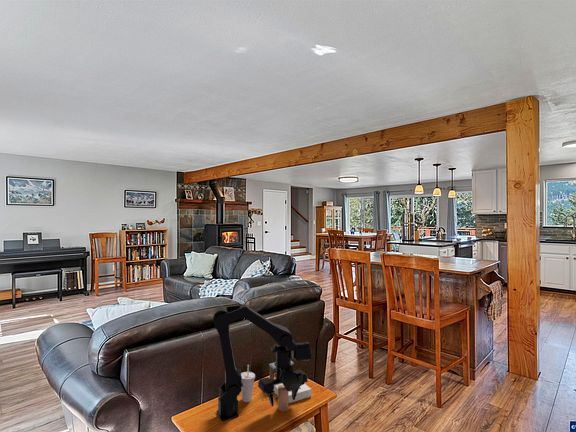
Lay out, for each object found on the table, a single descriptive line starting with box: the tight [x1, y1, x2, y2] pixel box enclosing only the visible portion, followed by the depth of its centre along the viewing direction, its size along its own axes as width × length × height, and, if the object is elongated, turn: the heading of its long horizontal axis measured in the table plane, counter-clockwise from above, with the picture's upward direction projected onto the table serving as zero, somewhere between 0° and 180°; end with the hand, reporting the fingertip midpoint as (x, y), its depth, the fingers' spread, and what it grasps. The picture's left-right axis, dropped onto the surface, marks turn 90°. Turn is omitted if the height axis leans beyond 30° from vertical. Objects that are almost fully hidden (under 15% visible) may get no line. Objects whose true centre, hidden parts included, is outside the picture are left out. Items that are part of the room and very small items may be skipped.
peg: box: [277, 385, 289, 412], centre depth 127 cm, size 4×4×8 cm
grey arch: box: [268, 360, 294, 380], centre depth 146 cm, size 10×4×9 cm, turn 118°
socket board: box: [273, 382, 312, 404], centre depth 138 cm, size 12×12×3 cm
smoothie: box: [240, 364, 256, 403], centre depth 133 cm, size 6×6×14 cm
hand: (283, 402), depth 127 cm, fingers open, 9 cm apart
